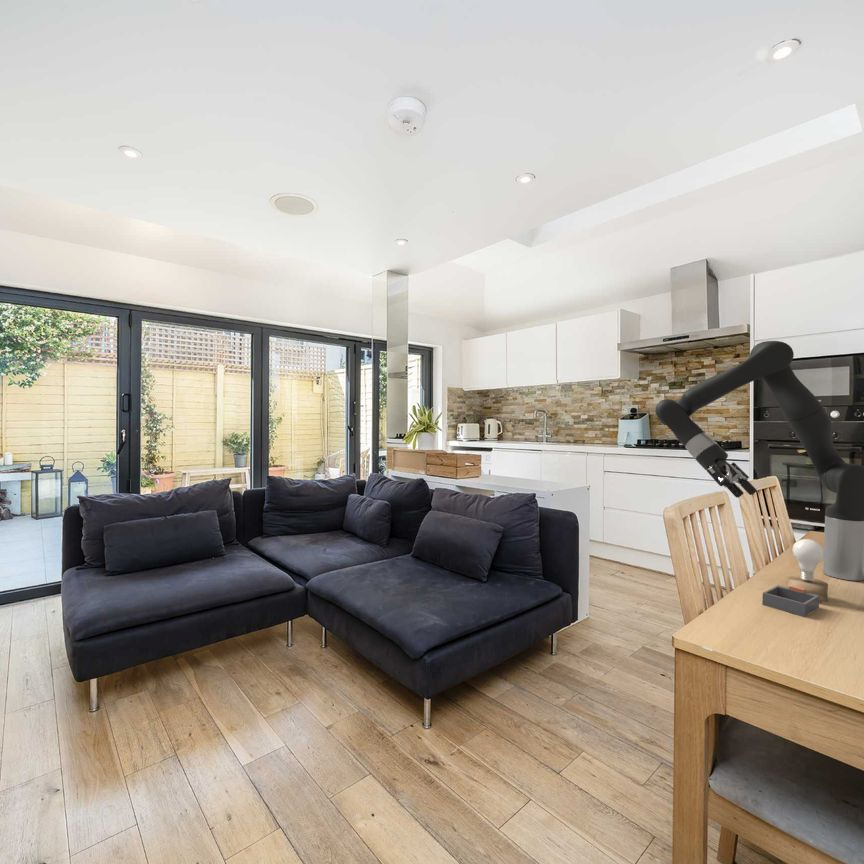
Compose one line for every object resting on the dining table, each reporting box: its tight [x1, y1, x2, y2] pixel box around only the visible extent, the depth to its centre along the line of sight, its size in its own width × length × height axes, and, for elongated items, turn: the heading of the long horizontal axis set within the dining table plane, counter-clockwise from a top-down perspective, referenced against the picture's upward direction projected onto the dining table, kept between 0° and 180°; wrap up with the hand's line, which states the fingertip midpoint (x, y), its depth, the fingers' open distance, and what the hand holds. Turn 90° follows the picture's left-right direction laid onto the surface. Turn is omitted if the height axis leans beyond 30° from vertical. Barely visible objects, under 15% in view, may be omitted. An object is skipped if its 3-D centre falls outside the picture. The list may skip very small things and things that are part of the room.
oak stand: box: [788, 575, 829, 604], centre depth 123 cm, size 8×8×4 cm
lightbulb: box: [792, 538, 824, 582], centre depth 123 cm, size 6×6×11 cm
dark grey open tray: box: [761, 584, 820, 618], centre depth 116 cm, size 10×9×4 cm
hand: (747, 494), depth 133 cm, fingers open, 8 cm apart
